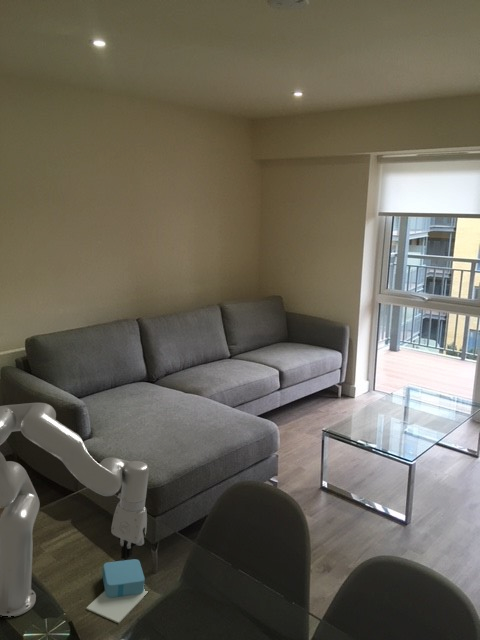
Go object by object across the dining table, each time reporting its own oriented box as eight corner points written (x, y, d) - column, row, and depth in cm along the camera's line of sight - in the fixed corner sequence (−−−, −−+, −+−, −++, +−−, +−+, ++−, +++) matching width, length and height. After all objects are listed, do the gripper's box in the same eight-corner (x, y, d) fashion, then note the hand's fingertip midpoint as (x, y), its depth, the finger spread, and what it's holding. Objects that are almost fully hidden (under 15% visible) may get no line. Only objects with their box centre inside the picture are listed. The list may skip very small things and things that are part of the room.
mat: (86, 609, 164) (86, 607, 163) (121, 576, 180) (121, 575, 180) (118, 623, 159) (118, 622, 159) (151, 589, 175) (151, 587, 175)
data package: (106, 599, 168) (144, 593, 172) (107, 586, 167) (145, 580, 172) (101, 574, 179) (137, 570, 183) (102, 562, 178) (138, 558, 183)
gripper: (104, 499, 163) (98, 554, 165) (146, 515, 157) (139, 572, 160) (119, 489, 169) (113, 543, 172) (160, 505, 164) (153, 559, 167)
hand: (126, 556), depth 166 cm, fingers closed
